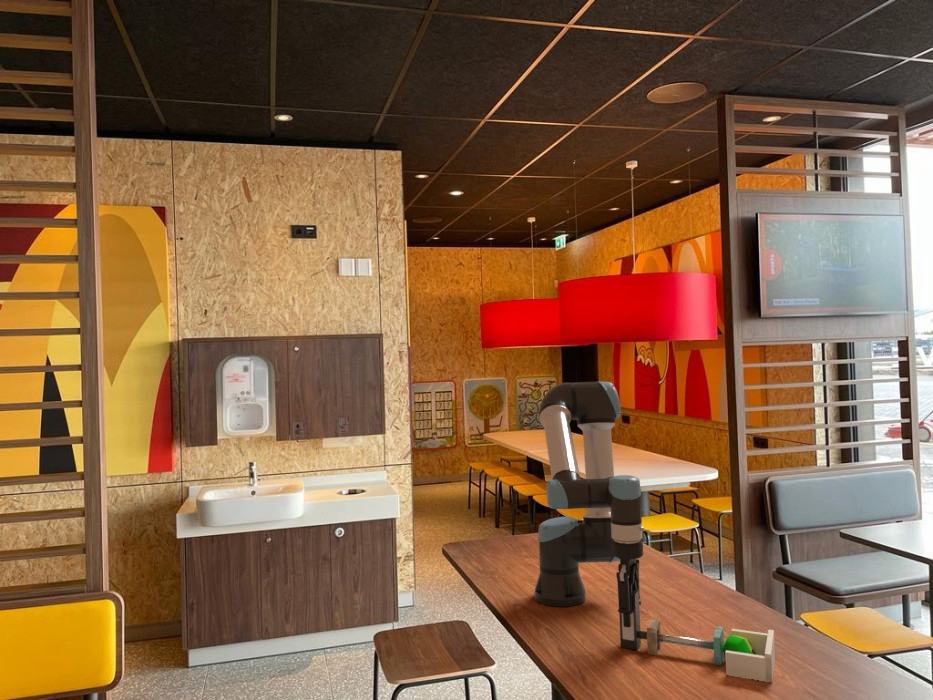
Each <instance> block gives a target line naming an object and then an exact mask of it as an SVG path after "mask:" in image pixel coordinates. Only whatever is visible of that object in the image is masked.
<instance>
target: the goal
mask: <svg viewBox="0 0 933 700" xmlns="http://www.w3.org/2000/svg"><path fill="white" fill-rule="evenodd" d="M731 635H735V636H739V637H743V638H746V639H747V641H749V642H750V646H751V648H752V649H753V650H754V651H755V654H756V655H754V654H753V653H751V654H748V653H741V652H734V651H728V650H726V652H725V654H724V656H725V655H726V656H725V672H726V676H727V675H729V676H728V677H733V676H734V677H735V678H739V677H740V678H741V679H745V678H746V680H751V679H754V680H753V681H757V680H759V682H763V681H764V683H769V682H770V683H769V684H772V683H773V680H774V679H773V678H774V672H775V671H774V670H775V664H776V663H775V662H776V648H775V647H776V644H775V643H776V642H775V641H776V640H775V630H774V629H767V633H765V632H759V631H752V630H744V629H738V628H731ZM734 677H733V678H734Z"/></svg>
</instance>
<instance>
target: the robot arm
mask: <svg viewBox="0 0 933 700" xmlns="http://www.w3.org/2000/svg"><path fill="white" fill-rule="evenodd" d="M538 416H539V419H538V420H539V423H540V424H541V426H542V427H543V428H544V434H545V442H546V447H547V454H548V461H549V467H550V475H551V479H550V480H547V481H546V483H545V484H546V486H545V490H546V495H545V496H546V503H547V504H546V505H547V506H548V507H549V508H550V509H552V510H553V509H554V510H574V509H576V510H577V509H587V511H586V512H585V513H584V514H583V516H582V519H583V521H581V522H578V520H577V518H576V517H574V516H558V517H553V518H548V519H547V520H545V521H542V522H541V523H540V524H539V527H538V537H537V541H538V550H539V551H538V554H539V556H538V558H539V559H538V560H539V561H538V562H539V574H538V578H537V580H536V585H535V589H534V599H535V600H536V602H537V603H539V604H542V605H545V606H549V607H556V608H557V607H558V608H559V607H562V608H563V607H573V606H578V605H580V604H583V603H584V602H585V601H586V599H587V597H586V594H587V593H586V589H585V586H584V582H583V580H582V577H581V574H580V569H579V564H581V563H586V564H587V563H589V564H590V563H610V564H611V563H614V562H619V564H618V567H617V571H616V574H615V575H616V581H617V597H618V609H617V612H618V613H619V612H621V613H622V634H623V639H627V640H633V641H634V640H635V637H634V613H633V612H632V589H633V590H639V606H642V601H640V599H641V596H640V594H641V593H640V569H639V568H640V558H642V557H643V556H644V542H643V541H642V539H643V532H644V531H645V527H644V526H642V525H643V524H642V523H643V519H642V489H641V482H640V479H639V478H638V476H635V475H629V474H628V475H627V474H626V475H625V474H622V475H621V474H619V475H615V470H614V469H615V468H614V458H613V457H614V456H613V455H614V454H613V441H612V429H613V428H614V427H615V425H616V420H617V419H620V417H621V403H620V399H619V394H618V391H617V388H616V387H615V385H614V384H613V383H612V382H609V381H599V380H598V381H597V380H596V381H582V382H580V381H579V382H561V383H558V384H556V385H555V386H553V387H552V388H550V389H549V390H548V391H547V392H546V393H545V395H544V396H543V398H542V400H541V402H540V405H539V410H538ZM571 421H576V423H577V427H578V428H579V429H580V430H581V431H582V439H583V441H582V442H583V454H584V457H583V458H584V471H585V478H584V479H583V478H581V475H580V470H579V467H578V460H577V456H576V455H577V454H576V451H575V445H574V439H573V434H572V431H571V430H572V429H571V426H570V425H571V424H570V423H571Z"/></svg>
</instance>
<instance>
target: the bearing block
mask: <svg viewBox="0 0 933 700" xmlns="http://www.w3.org/2000/svg"><path fill="white" fill-rule="evenodd" d="M646 632H647V655H653V656H657V655H658V653H659V652H658V649H661V647H662V642H659V641H657V633H660V634H662V633H661V620H657V619H650V622H649V623H648V625H647V627H646Z"/></svg>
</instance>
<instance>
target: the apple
mask: <svg viewBox="0 0 933 700" xmlns="http://www.w3.org/2000/svg"><path fill="white" fill-rule="evenodd" d="M726 650H728V651H734V652H741V653H748V654H751V653H753V654H754V655H756V654H755V651H754V650H753V649H752V648H751V646H750V642H749V641H747V639H746V638H743V637H739V636H735V635H732V634H729V635H728V636H727V638H726V639H725V640H724V645H723V648H722V651H723V652H724V657H726V655H725V652H726Z"/></svg>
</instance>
